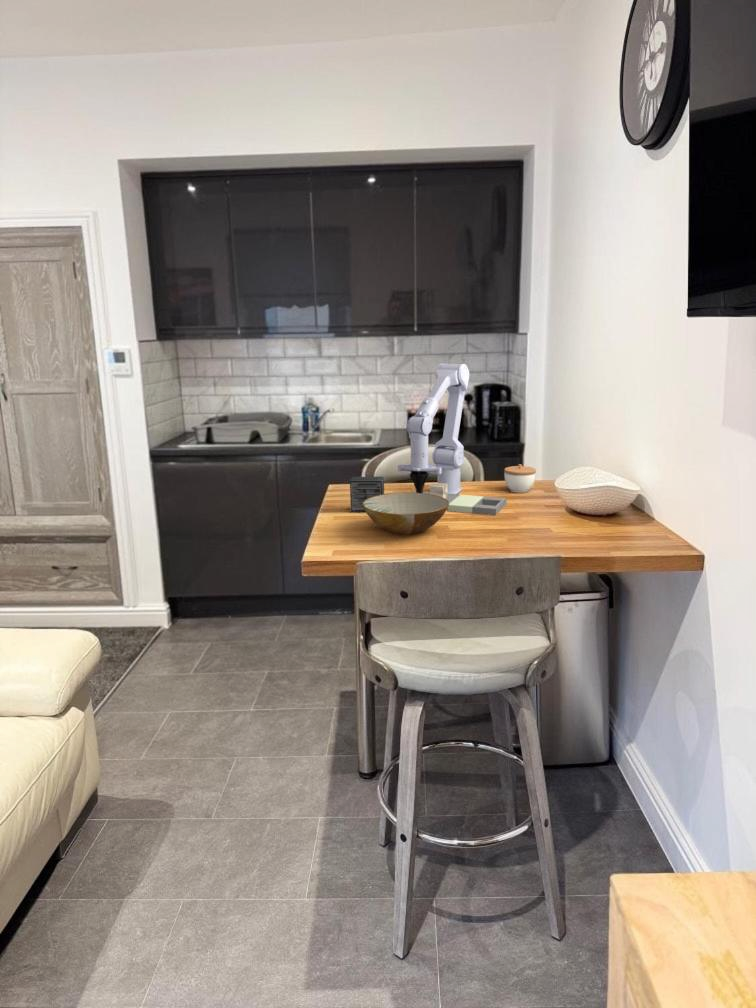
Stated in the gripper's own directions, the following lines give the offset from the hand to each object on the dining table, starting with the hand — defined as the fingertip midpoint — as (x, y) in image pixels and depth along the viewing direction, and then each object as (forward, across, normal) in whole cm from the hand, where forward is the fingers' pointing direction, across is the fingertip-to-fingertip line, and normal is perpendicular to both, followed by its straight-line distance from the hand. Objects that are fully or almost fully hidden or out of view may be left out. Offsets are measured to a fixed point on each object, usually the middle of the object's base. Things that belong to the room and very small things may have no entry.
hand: (419, 493), depth 239 cm
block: (+1, +7, 0) cm, 7 cm away
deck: (+3, +11, 0) cm, 12 cm away
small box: (+3, -13, -14) cm, 19 cm away
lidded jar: (+3, +27, +27) cm, 39 cm away
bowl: (+3, +6, -30) cm, 31 cm away
